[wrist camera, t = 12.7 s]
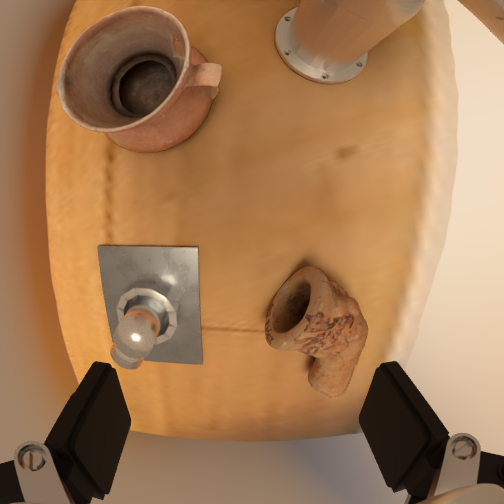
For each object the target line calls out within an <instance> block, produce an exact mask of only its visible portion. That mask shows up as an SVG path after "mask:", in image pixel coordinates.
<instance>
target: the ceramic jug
mask: <svg viewBox="0 0 504 504" xmlns="http://www.w3.org/2000/svg"><path fill="white" fill-rule="evenodd" d="M174 36H176V37H177V38H178V40H179V41H177V40H175V39H174ZM221 75H222V67H221V65H220V64H216V63H208V62H207V60H206V59H205V58H204V56H203V55H202V54H201V53H200V52H199V51H198V50H196V49H195V48H194V47H192V46H191V43H190V39H189V36H188V33H187V31H186V29H185V27H184V26H183V24H182V23H181V22H180V21H179V20H178V19H177V18H176V17H175V16H173V15H172V14H170V13H168V12H166V11H164V10H162V9H160V8H156V7H150V6H135V7H129V8H126V9H122V10H118V11H115V12H113V13H112V14H109V15H107V16H104V17H103V18H101V19H99V20H98V21H96V22H94V23H93V24H92V25H90V26H89V27H88V28H87V29H86V30H84V31H83V32H82V33H81V34H80V35H79V36H78V37H77V38H76V40H75V41H74V42H73V43H72V45H71V46H70V48H69V50H68V51H67V54H66V57H65V59H64V60H63V62H62V65H61V68H60V71H59V76H58V83H57V85H56V92H57V94H58V96H59V99H60V102H61V105H62V107H63V109H64V111H65V112H66V114H67V115H68V116H69V117H70V118H71V120H73V121H74V122H75V123H77V124H78V125H80V126H82V127H84V128H86V129H89V130H92V131H96V132H103V133H105V134H106V135H107V137H108V138H109V139H110V140H111V141H113V142H114V143H115V144H117V145H118V146H120V147H122V148H124V149H127V150H130V151H134V152H141V153H152V152H159V151H163V150H166V149H169V148H171V147H173V146H175V145H177V144H179V143H181V142H183V141H184V140H186V139H187V138H188V137H190V136H191V135H192V134H193V133H194V132H195V131H196V130H197V129H198V128H199V126H200V125H201V124H202V122H203V121H204V119H205V117H206V116H207V114H208V112H209V109H210V107H211V104H212V102H213V100H214V98H215V96H216V95H217V94H218V93H219V87H218V85H219V82H220V79H221Z"/></svg>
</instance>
